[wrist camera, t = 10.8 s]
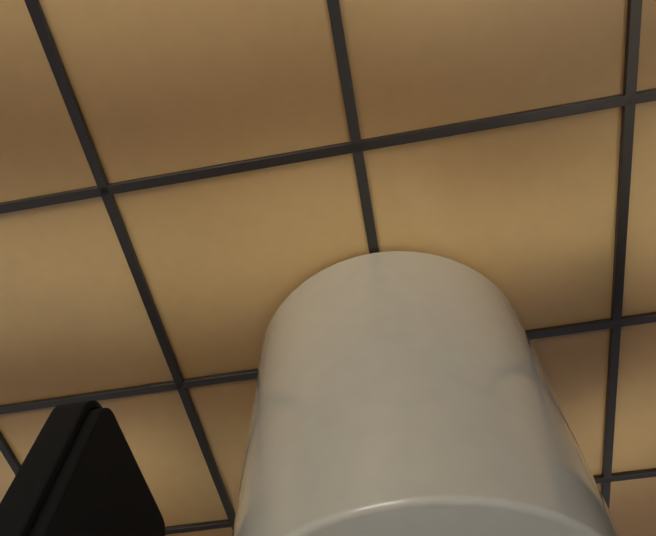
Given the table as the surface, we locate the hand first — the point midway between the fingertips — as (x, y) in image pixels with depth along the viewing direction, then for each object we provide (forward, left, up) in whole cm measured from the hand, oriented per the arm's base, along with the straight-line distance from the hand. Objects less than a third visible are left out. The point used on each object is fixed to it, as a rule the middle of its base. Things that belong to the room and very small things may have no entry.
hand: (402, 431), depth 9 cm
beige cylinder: (0, 0, -2) cm, 2 cm away
